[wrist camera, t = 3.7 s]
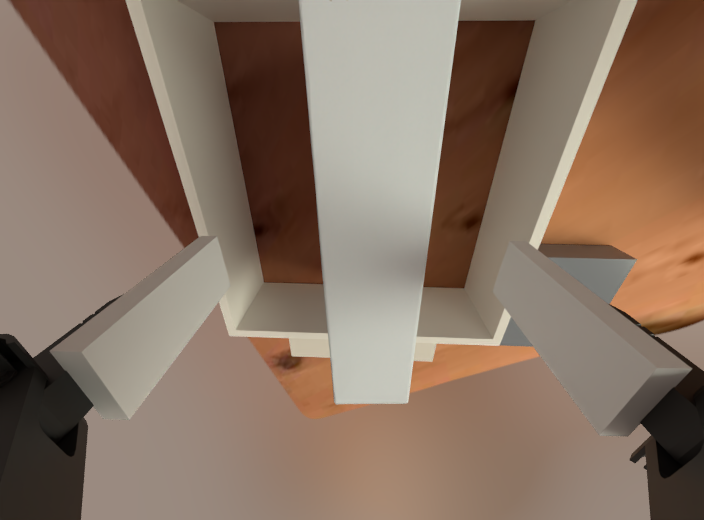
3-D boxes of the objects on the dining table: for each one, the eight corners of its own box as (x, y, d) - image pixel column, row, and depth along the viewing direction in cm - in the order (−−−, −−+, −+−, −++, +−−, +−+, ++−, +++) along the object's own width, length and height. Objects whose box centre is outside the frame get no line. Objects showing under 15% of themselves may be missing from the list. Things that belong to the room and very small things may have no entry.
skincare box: (388, 274, 31) (409, 408, 17) (342, 274, 31) (324, 406, 17) (401, 45, 20) (482, -101, 6) (331, 47, 20) (263, -87, 7)
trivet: (495, 242, 28) (508, 256, 25) (611, 245, 28) (637, 259, 25) (469, 326, 34) (478, 344, 31) (564, 329, 33) (581, 348, 31)
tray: (190, -40, 18) (84, -133, 11) (564, -45, 17) (697, -149, 11) (261, 303, 33) (234, 354, 26) (464, 310, 33) (492, 363, 26)
